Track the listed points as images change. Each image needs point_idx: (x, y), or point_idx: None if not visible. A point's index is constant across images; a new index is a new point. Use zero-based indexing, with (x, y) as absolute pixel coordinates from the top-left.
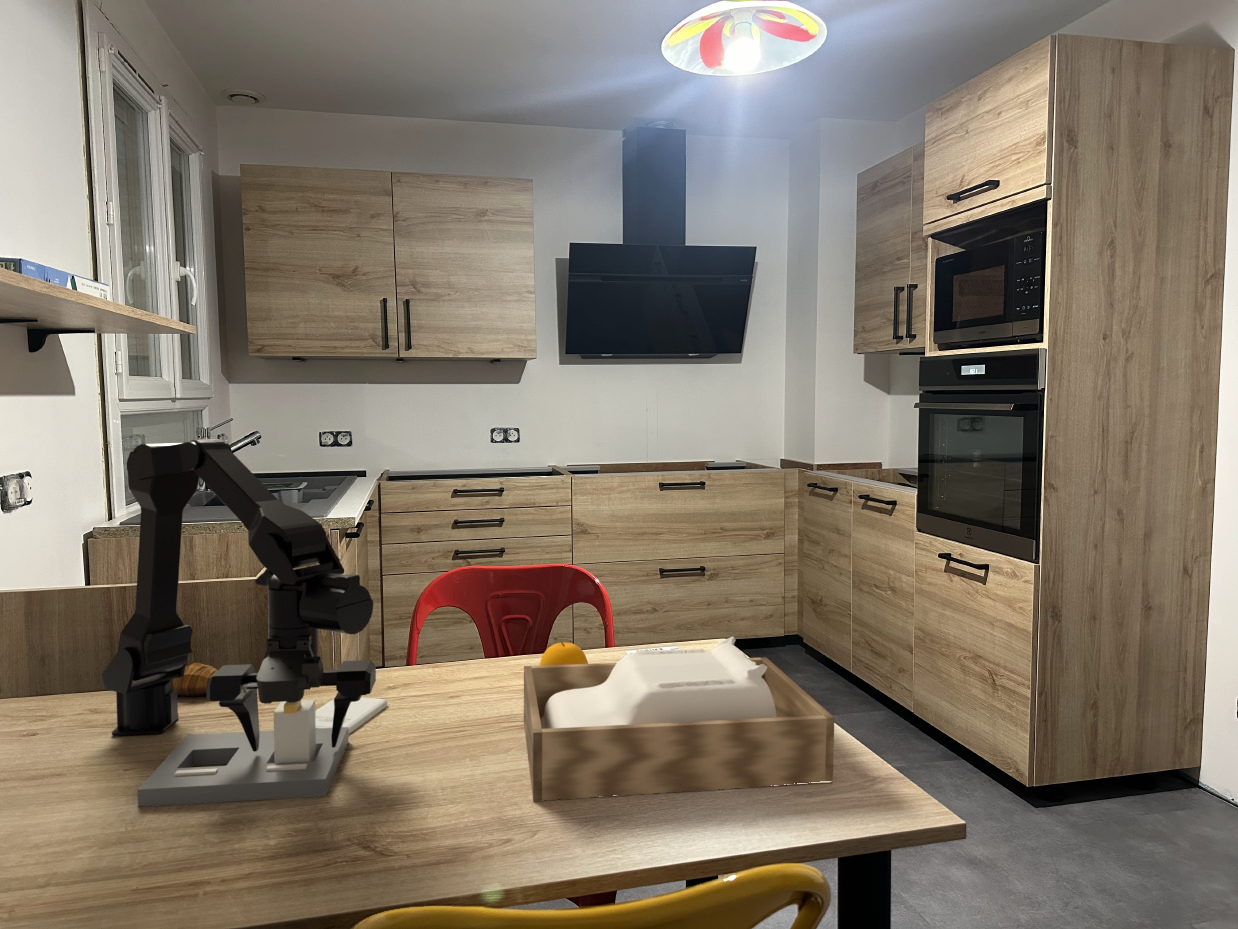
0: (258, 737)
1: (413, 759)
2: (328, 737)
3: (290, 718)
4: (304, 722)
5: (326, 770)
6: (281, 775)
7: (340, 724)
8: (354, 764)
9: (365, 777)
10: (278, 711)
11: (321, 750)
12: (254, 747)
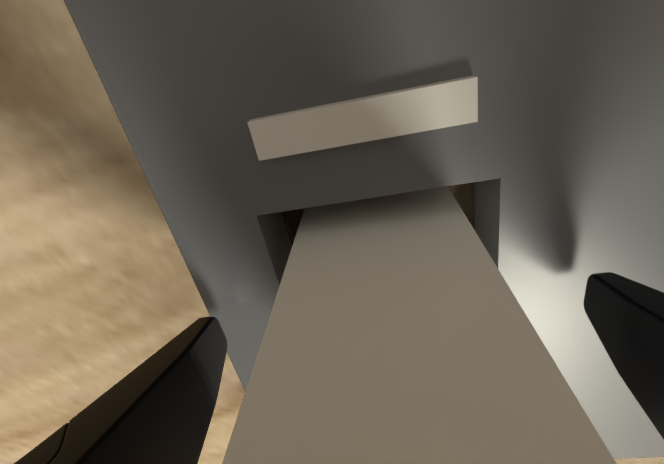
0: (621, 352)
1: (22, 325)
2: None
3: (404, 447)
4: (272, 408)
5: (126, 104)
6: (352, 7)
7: (79, 415)
8: (186, 292)
9: (78, 195)
10: None
11: None
12: (615, 281)
